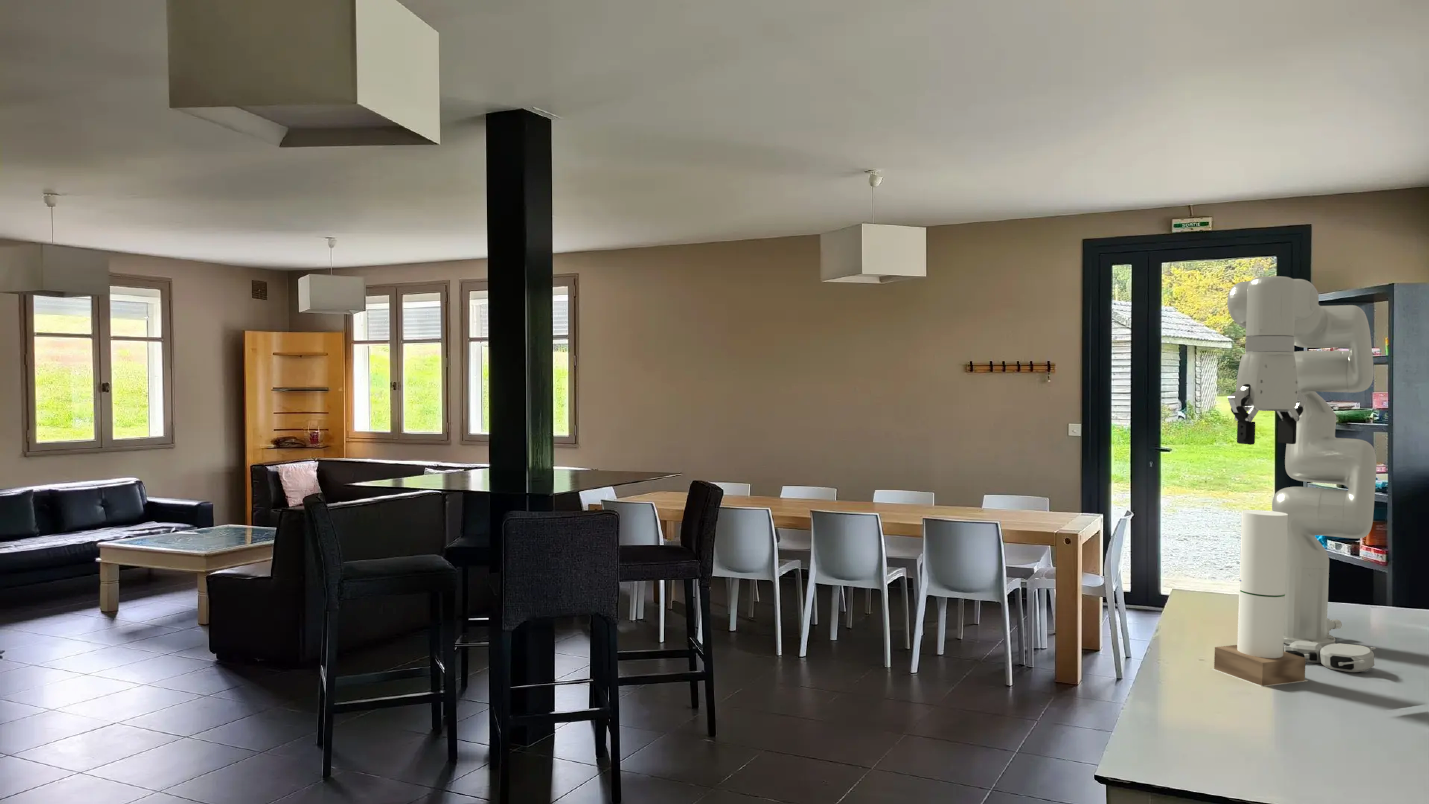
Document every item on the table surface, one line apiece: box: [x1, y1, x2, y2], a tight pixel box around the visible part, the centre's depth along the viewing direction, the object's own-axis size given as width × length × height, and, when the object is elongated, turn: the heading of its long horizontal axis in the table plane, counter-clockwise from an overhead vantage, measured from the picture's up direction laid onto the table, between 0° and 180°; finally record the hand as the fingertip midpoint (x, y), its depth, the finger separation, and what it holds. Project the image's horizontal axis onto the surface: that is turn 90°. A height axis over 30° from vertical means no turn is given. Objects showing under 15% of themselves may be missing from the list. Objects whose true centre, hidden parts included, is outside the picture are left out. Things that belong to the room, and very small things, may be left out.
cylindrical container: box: [1236, 509, 1288, 658], centre depth 173 cm, size 7×7×25 cm
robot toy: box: [1283, 641, 1377, 673], centre depth 181 cm, size 12×4×15 cm
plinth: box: [1213, 644, 1306, 687], centre depth 173 cm, size 10×10×4 cm
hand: (1266, 443), depth 172 cm, fingers open, 9 cm apart
